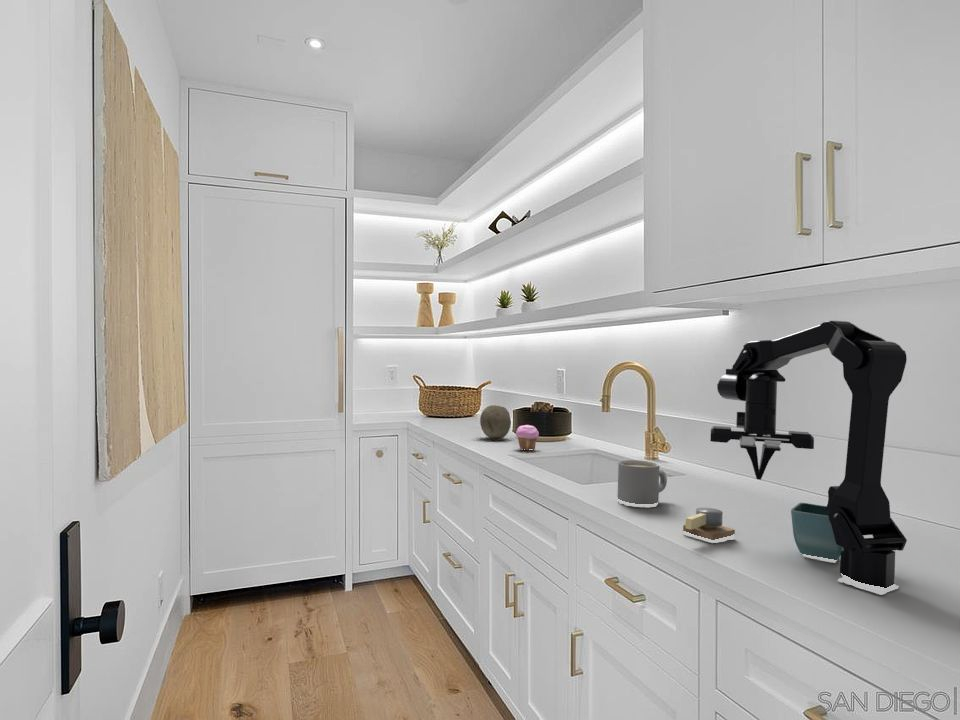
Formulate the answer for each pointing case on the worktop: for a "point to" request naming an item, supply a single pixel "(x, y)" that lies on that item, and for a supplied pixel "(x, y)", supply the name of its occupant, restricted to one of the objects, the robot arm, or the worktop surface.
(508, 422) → the cantaloupe
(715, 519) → the toy pan
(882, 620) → the worktop surface
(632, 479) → the coffee mug
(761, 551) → the worktop surface
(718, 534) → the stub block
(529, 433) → the cupcake
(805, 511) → the flower pot
